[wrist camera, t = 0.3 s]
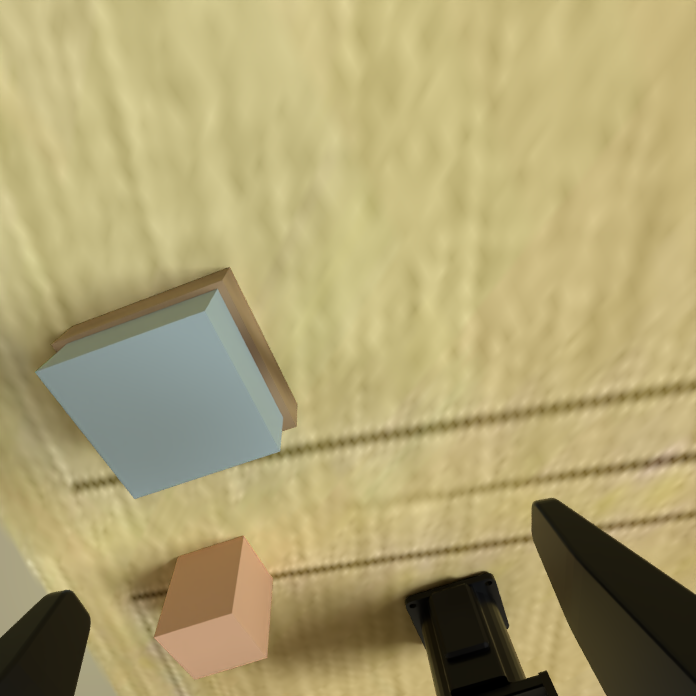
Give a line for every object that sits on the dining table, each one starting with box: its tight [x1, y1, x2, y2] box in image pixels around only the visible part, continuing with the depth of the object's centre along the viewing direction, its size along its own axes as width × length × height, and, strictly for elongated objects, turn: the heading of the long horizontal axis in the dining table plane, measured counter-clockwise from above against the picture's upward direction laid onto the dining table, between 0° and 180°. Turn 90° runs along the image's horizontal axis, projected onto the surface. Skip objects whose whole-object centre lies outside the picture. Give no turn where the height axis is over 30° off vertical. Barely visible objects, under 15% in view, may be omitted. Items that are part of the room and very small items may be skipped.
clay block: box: [154, 536, 273, 679], centre depth 26 cm, size 4×4×5 cm
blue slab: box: [35, 289, 283, 499], centre depth 19 cm, size 7×7×2 cm
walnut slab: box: [51, 267, 297, 431], centre depth 21 cm, size 8×8×2 cm
